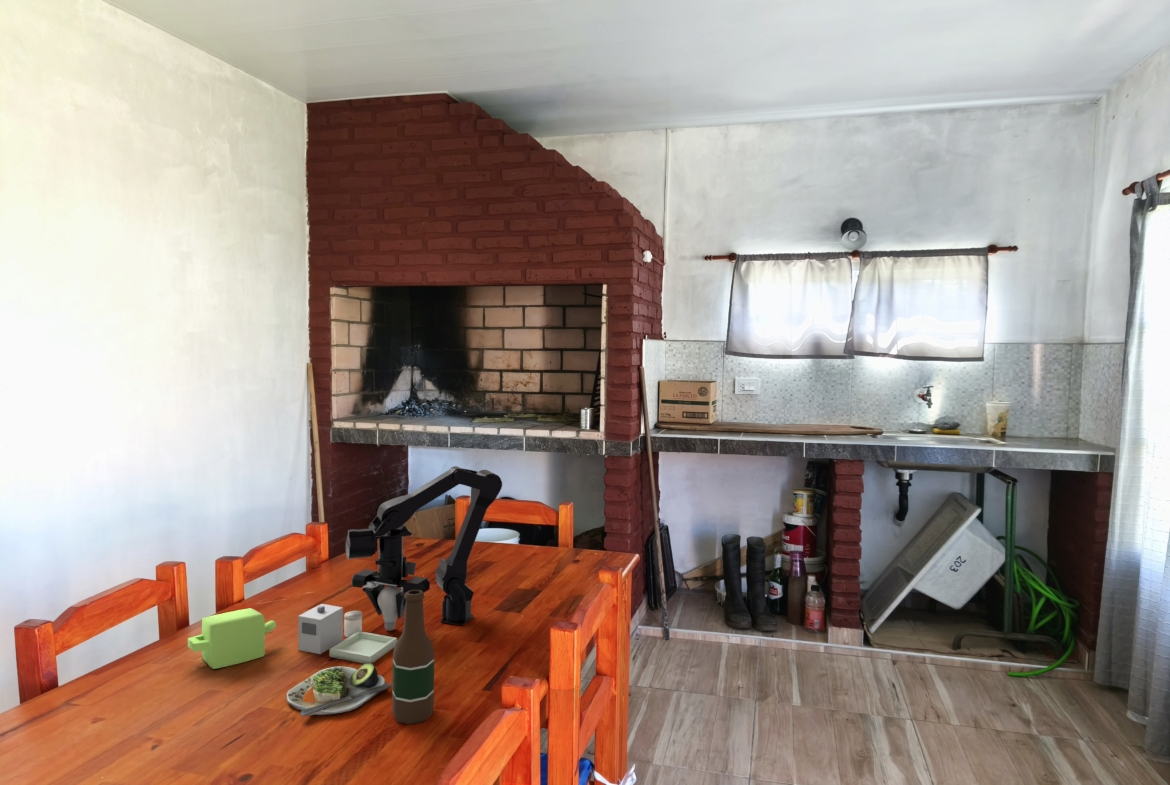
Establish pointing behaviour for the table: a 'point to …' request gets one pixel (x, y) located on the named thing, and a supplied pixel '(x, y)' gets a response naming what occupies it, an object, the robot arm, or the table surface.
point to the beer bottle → (413, 666)
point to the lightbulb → (389, 606)
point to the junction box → (320, 628)
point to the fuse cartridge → (352, 623)
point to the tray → (363, 647)
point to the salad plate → (337, 690)
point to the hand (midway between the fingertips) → (390, 616)
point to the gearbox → (232, 637)
